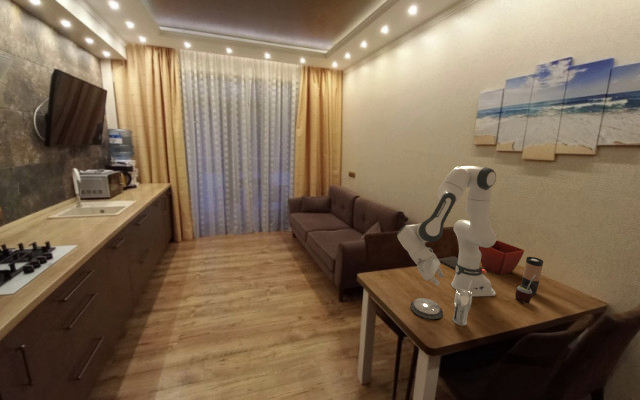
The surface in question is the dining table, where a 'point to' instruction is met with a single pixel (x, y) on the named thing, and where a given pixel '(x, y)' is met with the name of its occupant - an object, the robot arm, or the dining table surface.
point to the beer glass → (461, 306)
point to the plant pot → (500, 257)
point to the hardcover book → (449, 262)
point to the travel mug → (532, 273)
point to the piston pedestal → (426, 309)
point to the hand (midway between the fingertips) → (440, 280)
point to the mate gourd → (524, 293)
